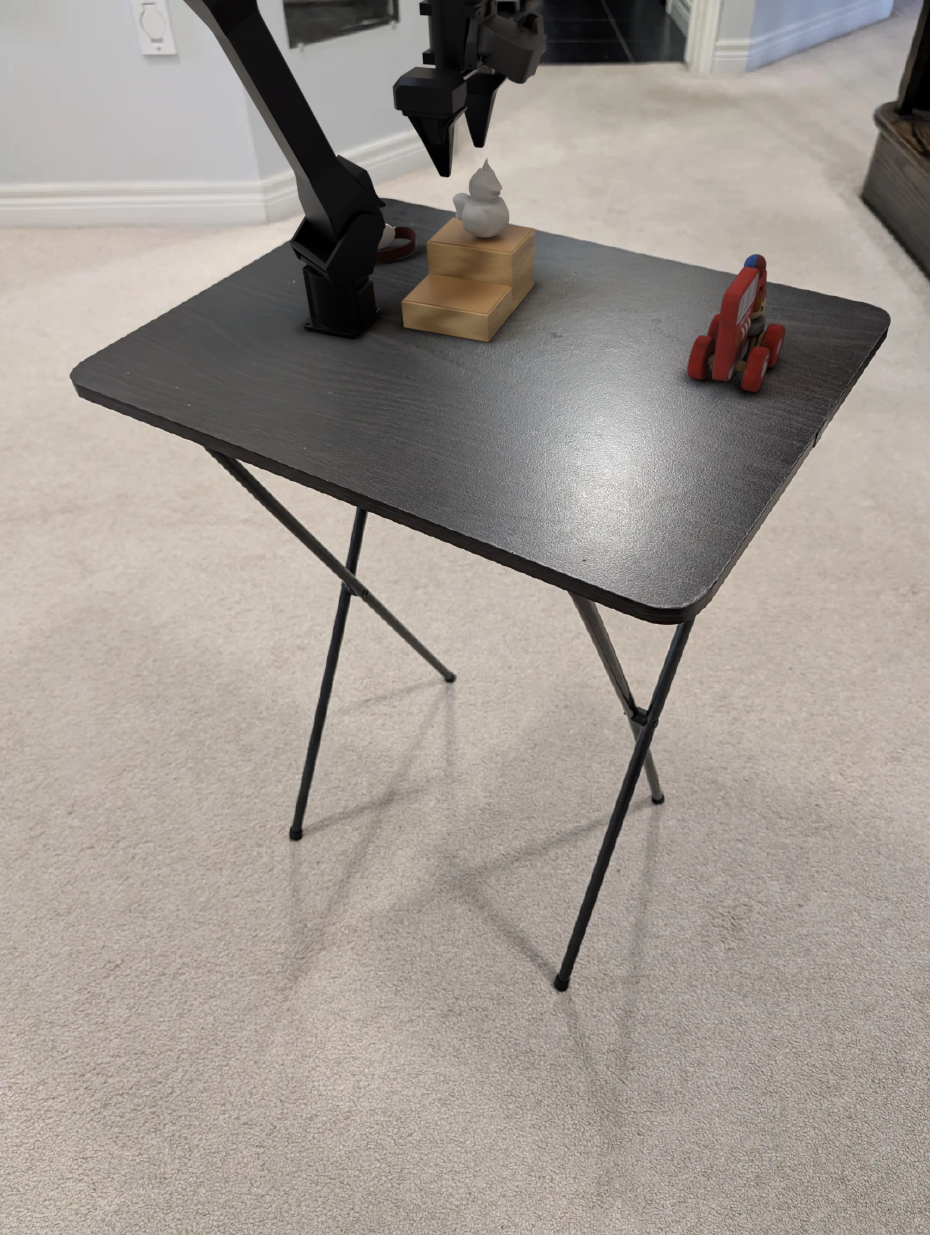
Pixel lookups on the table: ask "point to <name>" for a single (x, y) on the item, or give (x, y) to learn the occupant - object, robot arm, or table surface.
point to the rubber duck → (482, 205)
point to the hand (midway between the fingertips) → (462, 161)
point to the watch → (400, 251)
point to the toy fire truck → (740, 332)
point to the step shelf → (471, 281)
